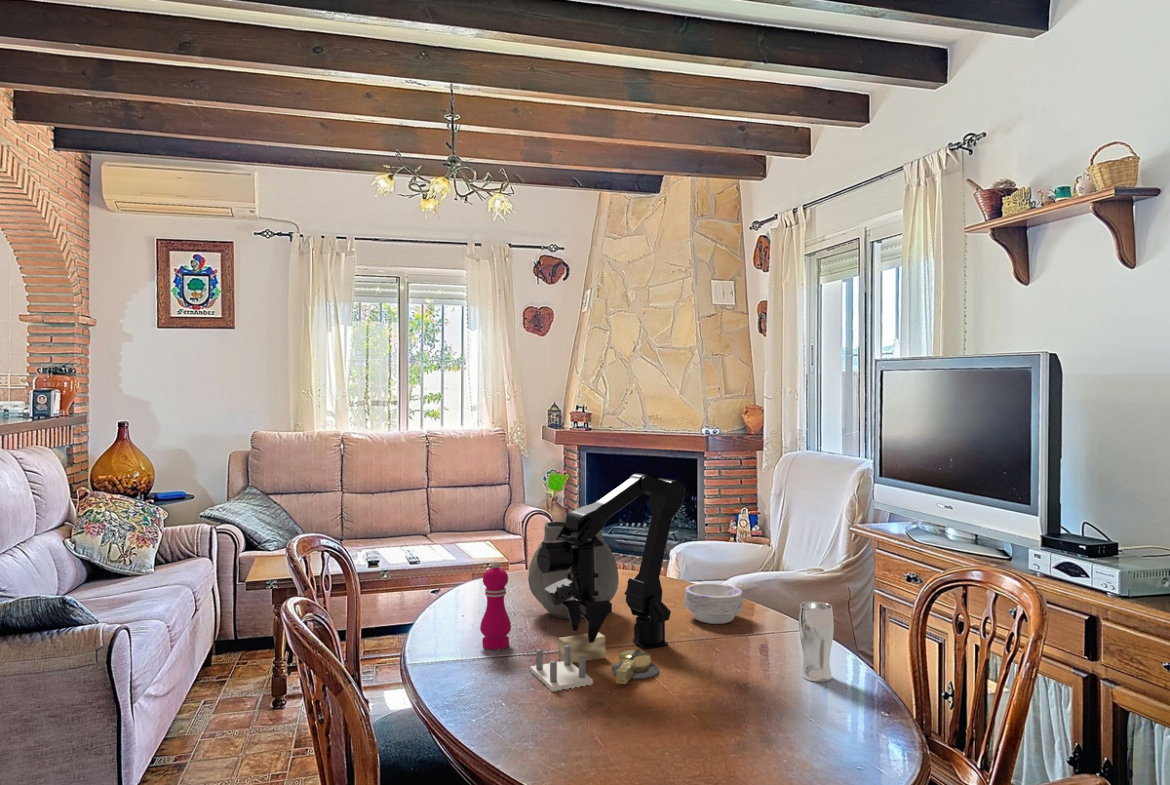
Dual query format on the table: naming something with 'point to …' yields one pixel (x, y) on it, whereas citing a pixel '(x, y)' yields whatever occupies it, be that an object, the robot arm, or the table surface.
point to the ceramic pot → (539, 580)
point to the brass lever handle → (631, 664)
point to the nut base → (639, 675)
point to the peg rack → (561, 672)
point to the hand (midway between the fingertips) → (582, 636)
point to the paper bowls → (713, 602)
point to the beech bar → (582, 647)
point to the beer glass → (816, 640)
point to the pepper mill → (495, 609)
